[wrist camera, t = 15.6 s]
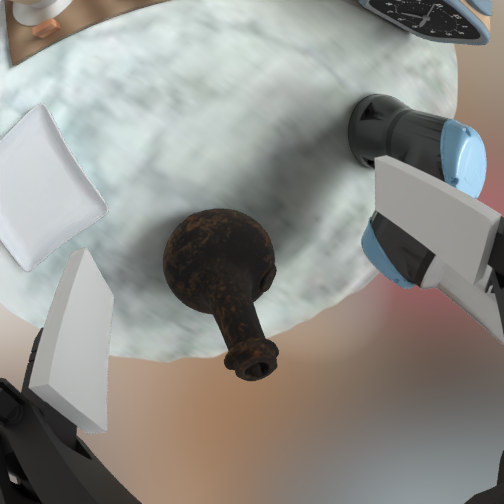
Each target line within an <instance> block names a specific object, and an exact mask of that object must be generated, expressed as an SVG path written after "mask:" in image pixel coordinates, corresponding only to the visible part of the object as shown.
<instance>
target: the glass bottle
mask: <svg viewBox="0 0 504 504" xmlns="http://www.w3.org/2000/svg"><path fill="white" fill-rule="evenodd" d="M163 270H164V274H165V278H166V281H167V283H168V285H169V287H170V289H171V290H172V292H173V293H174V295H175V296H176V297H177V298H178V299H179V300H180V301H181V302H182V303H184V304H185V305H186V306H188V307H190V308H192V309H194V310H196V311H199V312H202V313H207V314H213V316H214V318H215V320H216V322H217V324H218V326H219V329H220V331H221V333H222V336H223V338H224V340H225V343H226V345H227V348H228V351H229V352H228V353H227V355H226V356H225V359H224V364H225V366H226V368H227V369H229V370H235V373H236V375H237V377H239V378H241V379H243V380H247V381H256V380H259V379H262V378H265V377H266V376H268V375H270V374H271V373H272V372H273V371H274V370H275V369H276V368H277V359H276V357H277V356H278V354H279V350H278V348H277V346H276V344H275V343H274V342H272V341H270V340H268V339H266V338H265V336H264V333H263V331H262V328H261V325H260V323H259V319H258V317H257V313H256V310H255V307H254V303H253V302H255V301H256V300H257V299H258V298H259V297H260V296H261V295H262V294H263V292H266V291H267V290H268V289H269V288H270V286H271V284H272V282H273V280H274V277H275V275H276V271H277V270H276V266H275V256H274V251H273V246H272V243H271V240H270V238H269V236H268V234H267V232H266V231H265V230H264V229H263V227H262V226H261V225H260V224H259V223H258V222H257V221H255V220H254V219H252V218H251V217H249V216H247V215H245V214H243V213H241V212H238V211H235V210H230V209H210V210H205V211H201V212H199V213H196V214H193V215H191V216H189V217H188V218H187V219H186V220H185V221H184V222H182V223H181V224H180V225H179V226H178V227H177V228H176V229H175V231H174V232H173V233H172V235H171V236H170V238H169V240H168V242H167V245H166V248H165V251H164V257H163Z"/></svg>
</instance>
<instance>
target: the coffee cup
mask: <svg viewBox="0 0 504 504" xmlns="http://www.w3.org/2000/svg"><path fill="white" fill-rule="evenodd" d="M10 1H13V2H17V3H20V4H23V5H29V6H32V7H35V8H45V7H48V6H50V5H52V4H54V3H55V2H56V1H58V0H10Z"/></svg>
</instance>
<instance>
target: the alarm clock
mask: <svg viewBox="0 0 504 504" xmlns="http://www.w3.org/2000/svg"><path fill="white" fill-rule="evenodd" d="M358 1H359V3H360V4H361V5H362V6H363V7H364V8H366V9H368V10H370V11H372V12H373V13H375V14H377V15H379V16H381V17H383V18H385V19H387V20H388V21H390V22H392V23H394V24H396V25H398V26H399V27H401V28H403V29H405V30H406V31H408V32H410V33H412V34H414V35H416V36H418V37H421V38H423V39H427V40H430V41H435V42H442V43H456V44H468V45H486V44H487V43H489V40H490V16H492V3H491V1H490V0H358Z"/></svg>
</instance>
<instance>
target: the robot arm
mask: <svg viewBox="0 0 504 504" xmlns="http://www.w3.org/2000/svg"><path fill="white" fill-rule="evenodd" d="M348 137H349V143H350V147H351V150H352V152H353V154H354V156H355V157H356V158H357V159H358V161H359V162H361V163H362V164H363V165H365V166H367V167H369V168H371V169H374V170H375V211H374V213H373V215H372V217H370V219H369V221H368V226H367V228H366V230H365V232H364V234H363V236H362V239H361V244H362V248H363V251H364V253H365V255H366V256H367V258H368V259H369V260H370V262H371V263H372V264H373V265H374V266H375V267H376V268H377V269H378V270H379V271H380V272H381V273H382V274H383V275H384V276H386V277H387V278H388V279H389V280H391V281H394V282H395V283H396V284H397V285H399V286H400V287H402V288H406V289H408V288H412V287H413V286H415V285H418V286H419V287H420V288H421V289H429V288H437V289H439V290H440V291H441V292H442V293H444V294H445V295H446V296H447V297H448V298H450V299H451V300H452V301H454V302H455V303H456V304H457V305H458V306H459V307H461V308H462V309H463V310H464V311H465V312H466V313H468V314H469V315H470V316H471V317H473V318H474V319H475V320H476V321H477V322H478V323H479V324H480V325H482V326H483V327H484V328H485V329H486V330H487V331H488V332H489V333H490V334H492V335H493V336H494V337H495V338H496V339H497V340H498V341H499V342H500V343H501V344H502V345H503V346H504V218H503V217H502V216H501V214H499V213H498V212H496V211H495V210H493V209H492V208H490V207H488V206H487V205H485V204H483V203H481V202H480V201H478V200H476V199H477V198H478V196H479V194H480V192H481V190H482V187H483V184H484V180H485V175H486V153H485V148H484V144H483V142H482V139H481V137H480V136H479V134H478V133H477V132H476V131H475V130H474V129H473V128H471V127H469V126H467V125H464V124H462V123H459V122H458V121H456V120H454V119H448V118H444V117H441V116H437V115H433V114H429V113H425V112H420V111H416V110H412V109H411V108H410V107H408V106H407V105H405V104H404V103H403V102H401V101H400V100H398V99H396V98H394V97H392V96H388V95H382V94H375V95H371V96H368V97H366V98H365V99H363V100H362V101H361V102H360V103H359V104H358V105H357V106H356V108H355V109H354V111H353V113H352V116H351V118H350V122H349V128H348ZM113 305H114V295H113V293H112V292H111V290H110V288H109V287H108V285H107V283H106V281H105V280H104V278H103V276H102V274H101V273H100V271H99V269H98V267H97V265H96V264H95V262H94V260H93V258H92V256H91V254H90V252H89V250H88V249H87V247H84V248H82V249H79V250H77V251H74V252H72V253H71V255H70V258H69V260H68V262H67V265H66V267H65V270H64V272H63V275H62V277H61V280H60V282H59V285H58V288H57V290H56V293H55V296H54V299H53V301H52V304H51V307H50V310H49V313H48V316H47V319H46V322H45V326H44V327H43V328H41V330H40V332H39V333H38V335H37V337H36V338H35V340H34V343H33V347H32V351H31V352H32V353H31V354H30V358H29V363H28V365H27V370H26V373H25V378H24V382H23V387H22V391H21V393H20V392H19V391H18V390H17V389H16V388H15V387H14V386H13V385H12V384H10V383H9V382H8V381H7V380H6V379H4V378H0V504H142V503H141V502H140V501H138V500H137V499H136V498H135V497H134V496H133V495H132V494H131V493H130V492H129V491H128V490H127V489H126V488H125V487H124V486H123V485H122V484H121V483H120V482H119V481H118V480H117V479H116V478H115V477H114V476H113V475H112V474H111V473H110V472H109V471H108V470H107V469H106V468H105V466H104V465H103V464H102V463H101V462H100V461H99V460H98V458H97V457H96V456H95V455H94V454H93V453H92V451H91V450H90V449H89V448H88V447H87V445H86V444H85V443H84V442H83V440H81V439H80V438H79V437H78V436H76V433H77V427H78V428H80V429H81V430H83V431H84V432H86V433H87V434H95V433H103V432H107V379H108V359H109V344H110V333H111V322H112V313H113ZM8 473H9V474H11V475H13V476H15V477H16V478H17V482H18V484H15V483H13V482H11V481H10V478H9V474H8ZM465 504H504V451H503V453H502V456H501V459H500V464H499V473H498V480H497V486H495V487H493V488H491V489H489V490H486V491H484V492H481V493H478V494H476V495H474V496H473V497H472V498H470V499H469V500H468V501H467V502H466V503H465Z"/></svg>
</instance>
